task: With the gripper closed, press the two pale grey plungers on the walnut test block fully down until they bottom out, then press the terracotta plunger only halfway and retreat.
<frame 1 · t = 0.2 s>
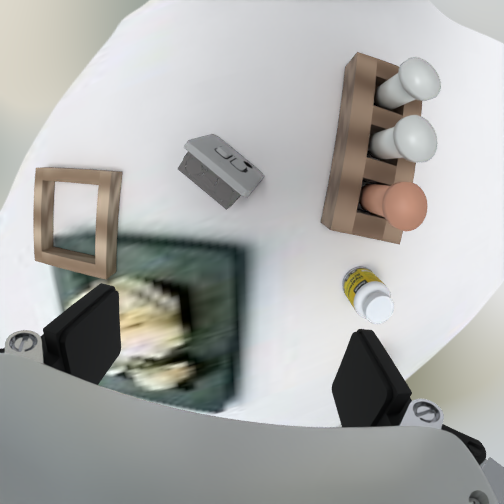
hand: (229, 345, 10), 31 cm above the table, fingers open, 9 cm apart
grey plug B: (396, 142, 28), point 10 cm above the table, slide at 0.0 cm
electrical switch: (228, 169, 39), on the table
square wooden frame: (78, 217, 41), on the table
terracotta plug: (387, 201, 30), point 10 cm above the table, slide at 0.0 cm
test block: (367, 148, 37), on the table
supplement bottle: (357, 282, 42), on the table
grey plug A: (402, 88, 26), point 10 cm above the table, slide at 0.0 cm
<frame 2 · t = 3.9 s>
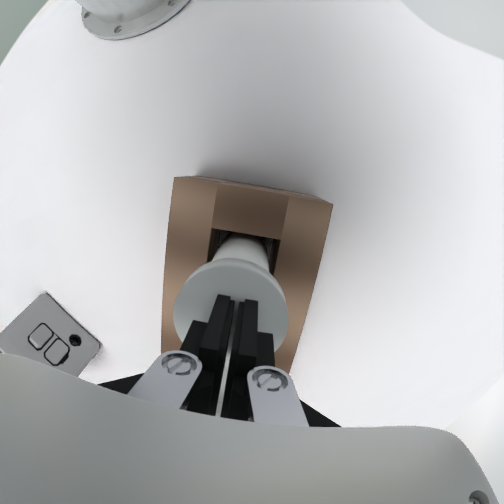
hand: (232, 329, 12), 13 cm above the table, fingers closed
grey plug B: (220, 386, 17), point 10 cm above the table, slide at 0.0 cm
electrical switch: (68, 331, 28), on the table
test block: (232, 317, 26), on the table
grey plug A: (238, 278, 16), point 8 cm above the table, slide at 1.5 cm, touching gripper
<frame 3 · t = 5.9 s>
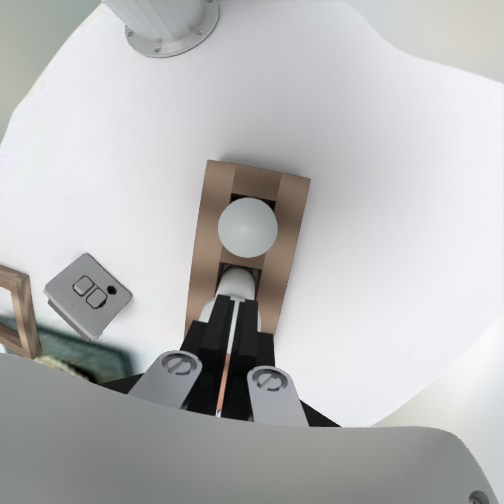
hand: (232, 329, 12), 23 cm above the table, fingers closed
grey plug B: (234, 300, 26), point 10 cm above the table, slide at 0.0 cm
electrical switch: (103, 286, 37), on the table
square wooden frame: (8, 304, 39), on the table
terracotta plug: (224, 359, 28), point 10 cm above the table, slide at 0.0 cm
test block: (240, 266, 36), on the table
grey plug A: (249, 218, 28), point 6 cm above the table, slide at 3.8 cm
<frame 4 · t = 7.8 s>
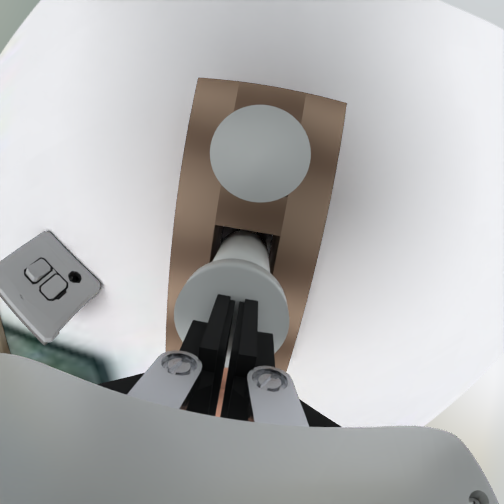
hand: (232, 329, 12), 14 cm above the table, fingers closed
grey plug B: (238, 278, 16), point 9 cm above the table, slide at 0.4 cm, touching gripper
electrical switch: (68, 273, 27), on the table
terracotta plug: (223, 375, 18), point 10 cm above the table, slide at 0.0 cm
test block: (246, 241, 25), on the table
grey plug A: (260, 158, 18), point 6 cm above the table, slide at 3.8 cm
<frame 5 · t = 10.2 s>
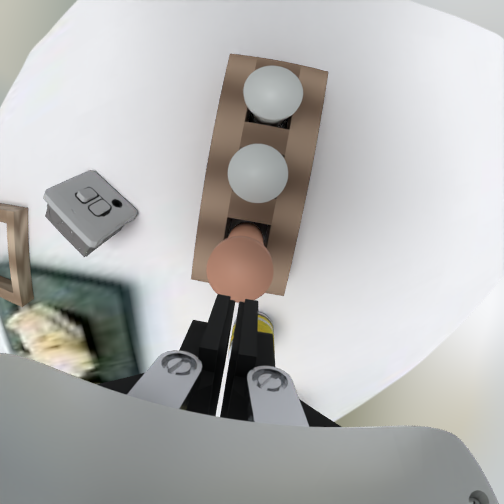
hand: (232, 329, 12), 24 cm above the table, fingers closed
grey plug B: (258, 172, 27), point 6 cm above the table, slide at 3.8 cm
electrical switch: (107, 206, 34), on the table
square wooden frame: (2, 247, 36), on the table
terracotta plug: (243, 252, 25), point 10 cm above the table, slide at 0.0 cm
test block: (258, 172, 33), on the table
supplement bottle: (253, 326, 39), on the table
grey plug A: (270, 104, 25), point 6 cm above the table, slide at 3.8 cm
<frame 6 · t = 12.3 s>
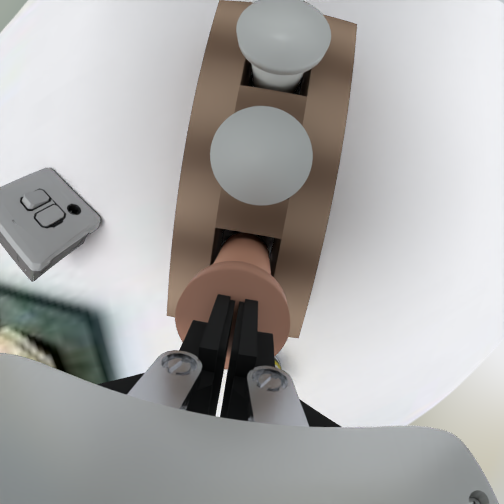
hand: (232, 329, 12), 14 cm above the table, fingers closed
grey plug B: (261, 160, 18), point 6 cm above the table, slide at 3.8 cm
electrical switch: (67, 213, 25), on the table
terracotta plug: (239, 280, 17), point 9 cm above the table, slide at 0.6 cm, touching gripper
test block: (260, 163, 23), on the table
grey plug A: (278, 62, 16), point 6 cm above the table, slide at 3.8 cm
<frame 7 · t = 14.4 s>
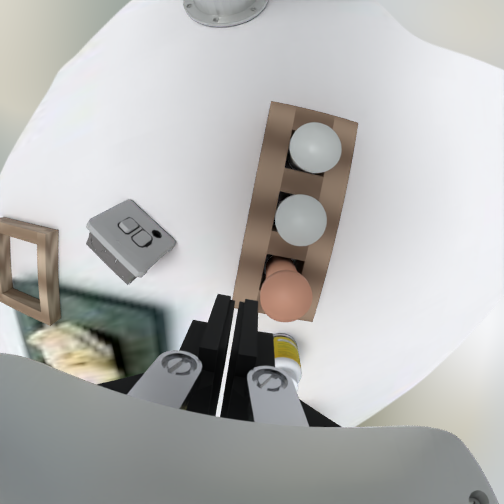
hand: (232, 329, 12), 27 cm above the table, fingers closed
grey plug B: (295, 215, 31), point 6 cm above the table, slide at 3.8 cm
electrical switch: (144, 235, 38), on the table
square wooden frame: (28, 266, 40), on the table
terracotta plug: (282, 280, 31), point 8 cm above the table, slide at 1.9 cm
test block: (290, 210, 37), on the table
supplement bottle: (278, 347, 42), on the table
grey plug A: (307, 153, 30), point 6 cm above the table, slide at 3.8 cm
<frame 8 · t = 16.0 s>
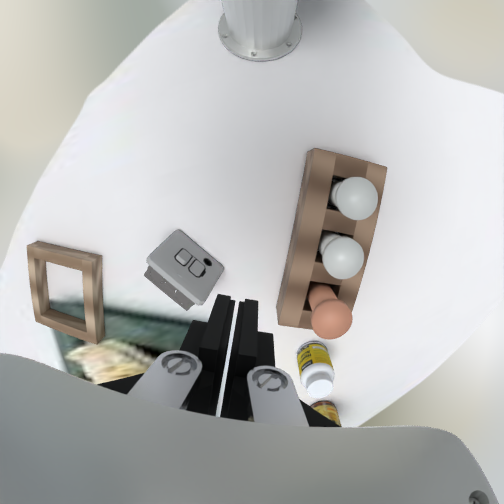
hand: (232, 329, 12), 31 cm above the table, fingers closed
grey plug B: (333, 248, 36), point 6 cm above the table, slide at 3.8 cm
electrical switch: (192, 261, 44), on the table
square wooden frame: (68, 288, 46), on the table
terracotta plug: (324, 303, 36), point 8 cm above the table, slide at 1.9 cm
sauce bottle: (320, 408, 51), on the table
test block: (324, 238, 42), on the table
supplement bottle: (311, 352, 48), on the table
grey plug A: (345, 195, 35), point 6 cm above the table, slide at 3.8 cm
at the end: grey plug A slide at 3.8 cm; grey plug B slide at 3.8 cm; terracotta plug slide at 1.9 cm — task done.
